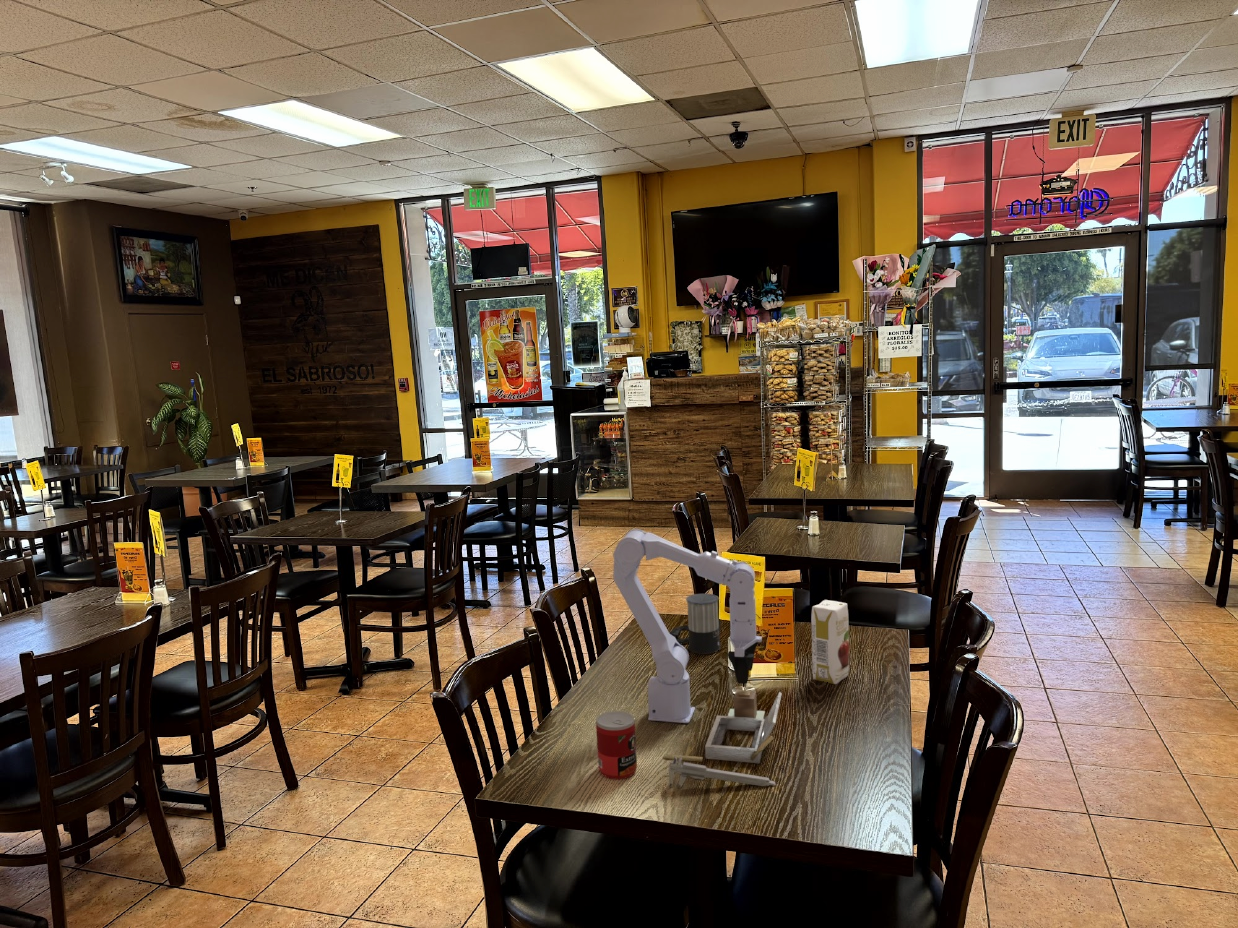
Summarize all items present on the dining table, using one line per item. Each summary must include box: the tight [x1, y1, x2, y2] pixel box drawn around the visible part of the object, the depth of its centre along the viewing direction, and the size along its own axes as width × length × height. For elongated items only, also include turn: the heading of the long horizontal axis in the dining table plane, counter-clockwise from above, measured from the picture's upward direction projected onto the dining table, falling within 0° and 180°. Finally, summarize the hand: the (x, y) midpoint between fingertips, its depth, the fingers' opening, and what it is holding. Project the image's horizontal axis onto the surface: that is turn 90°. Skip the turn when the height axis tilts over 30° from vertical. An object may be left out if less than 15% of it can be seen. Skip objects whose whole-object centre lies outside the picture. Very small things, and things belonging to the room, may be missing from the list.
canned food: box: [595, 710, 638, 780], centre depth 167 cm, size 8×8×11 cm
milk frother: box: [669, 593, 722, 655], centre depth 236 cm, size 14×16×15 cm
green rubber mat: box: [727, 708, 766, 719], centre depth 188 cm, size 8×8×1 cm
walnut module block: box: [733, 689, 758, 718], centre depth 188 cm, size 4×4×6 cm
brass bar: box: [663, 753, 704, 762], centre depth 171 cm, size 8×1×1 cm, turn 75°
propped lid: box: [750, 691, 783, 761], centre depth 174 cm, size 5×16×8 cm, turn 164°
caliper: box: [668, 756, 777, 788], centre depth 160 cm, size 20×1×6 cm, turn 87°
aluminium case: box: [704, 714, 765, 764], centre depth 176 cm, size 11×15×3 cm
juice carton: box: [810, 599, 850, 685], centre depth 208 cm, size 8×9×19 cm
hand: (744, 676), depth 187 cm, fingers open, 7 cm apart
